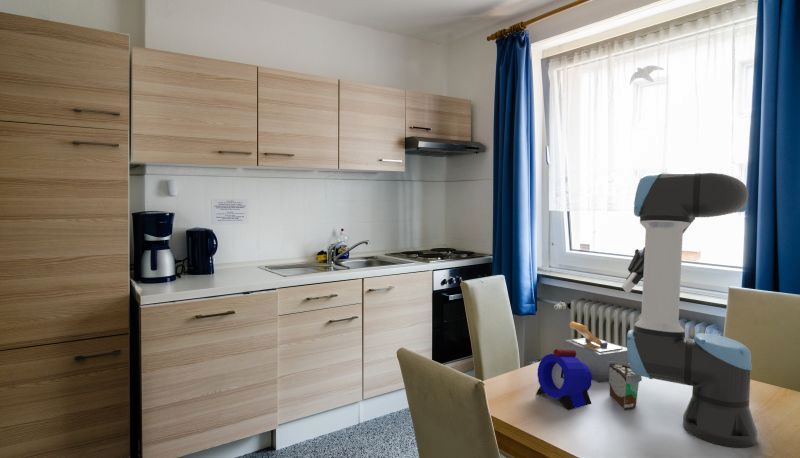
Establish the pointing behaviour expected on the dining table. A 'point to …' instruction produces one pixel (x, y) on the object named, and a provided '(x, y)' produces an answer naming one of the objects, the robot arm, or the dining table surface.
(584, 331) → the lever
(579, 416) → the dining table surface
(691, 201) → the robot arm
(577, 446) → the dining table surface
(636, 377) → the food container
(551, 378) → the alarm clock
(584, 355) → the box
